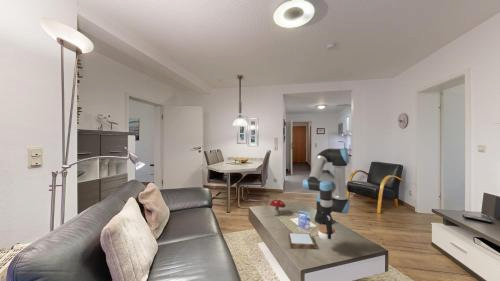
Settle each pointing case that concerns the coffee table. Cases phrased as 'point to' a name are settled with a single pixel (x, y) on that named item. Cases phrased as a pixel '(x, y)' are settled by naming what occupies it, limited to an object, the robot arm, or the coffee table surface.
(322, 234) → the lidded jar
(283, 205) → the decorative mushroom
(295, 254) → the coffee table surface
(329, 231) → the robot arm
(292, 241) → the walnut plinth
